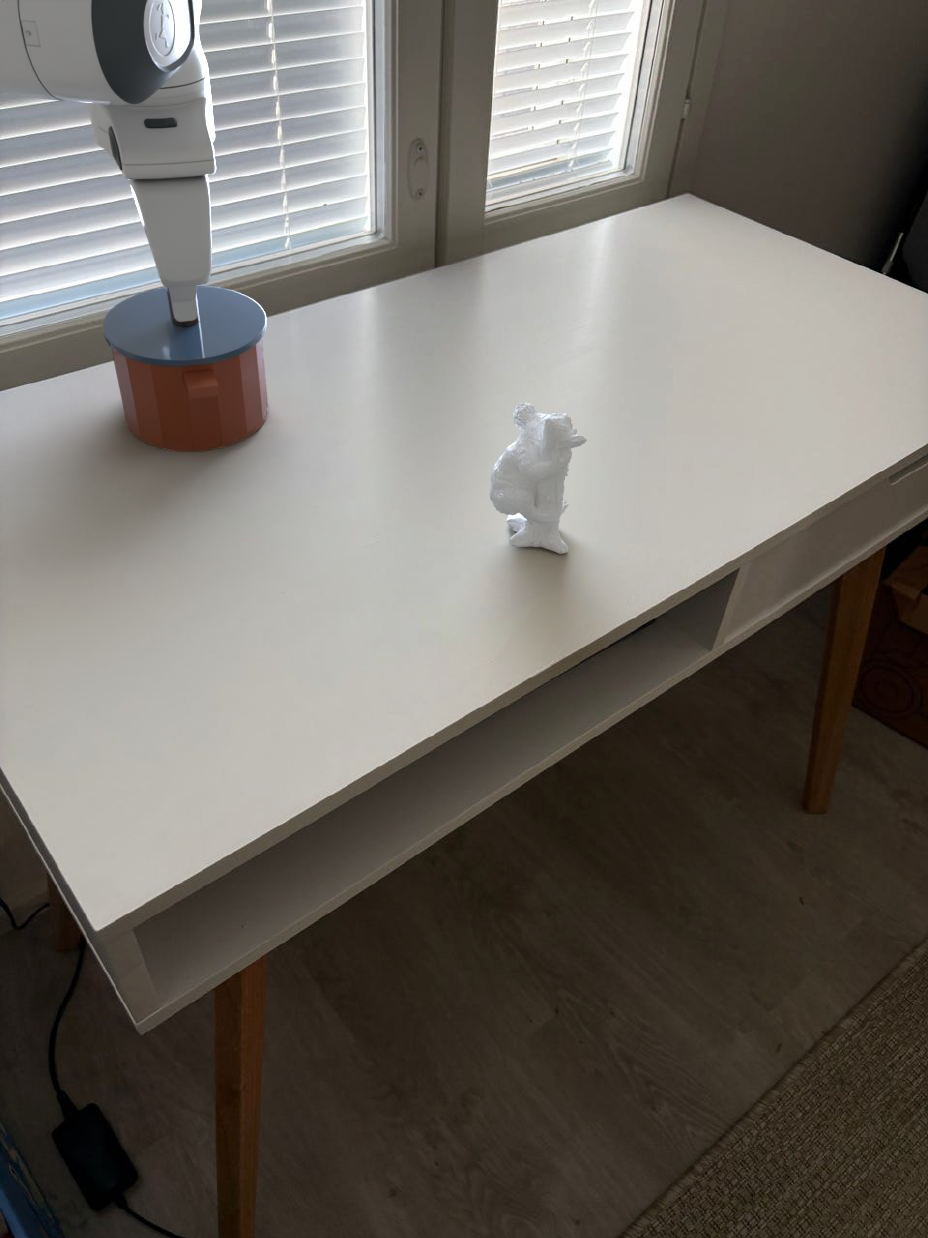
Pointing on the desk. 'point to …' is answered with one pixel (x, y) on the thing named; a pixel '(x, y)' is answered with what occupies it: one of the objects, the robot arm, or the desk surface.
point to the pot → (194, 401)
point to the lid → (184, 327)
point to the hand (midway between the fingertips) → (176, 291)
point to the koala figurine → (535, 477)
